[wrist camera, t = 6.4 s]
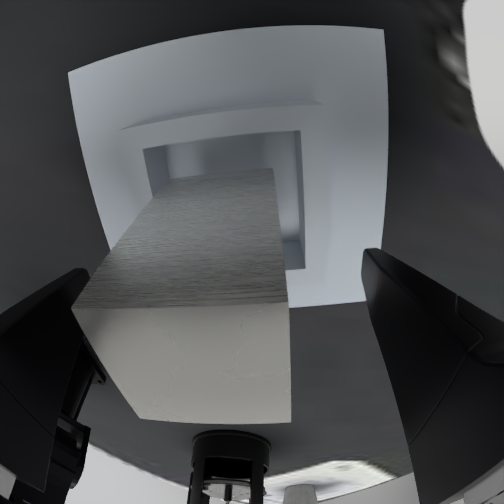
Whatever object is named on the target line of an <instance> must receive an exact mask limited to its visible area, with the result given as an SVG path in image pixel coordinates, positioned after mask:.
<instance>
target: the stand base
mask: <svg viewBox="0 0 504 504" xmlns="http://www.w3.org/2000/svg"><path fill="white" fill-rule="evenodd" d="M68 77H69V84H70V91H71V97H72V103H73V109H74V114H75V120H76V125H77V130H78V135H79V139H80V144H81V148H82V153H83V157H84V161H85V165H86V169H87V173H88V177H89V181H90V185H91V188H92V192H93V196H94V199H95V203H96V206H97V209H98V213H99V216H100V219H101V222H102V226H103V229H104V232H105V235H106V238H107V241H108V244H109V247H110V250H112V248H113V247H114V246H115V244H116V243H117V242H118V240H119V239H120V238H121V236H122V235H123V234H124V232H125V231H126V230H127V229H128V227H129V226H130V225H131V223H132V222H133V221H134V220H135V218H136V217H137V216H138V215H139V213H140V212H141V211H142V210H143V209H144V207H145V206H146V205H147V204H148V202H149V201H150V200H151V199H152V198H153V196H154V195H155V194H156V193H157V192H158V190H159V189H160V188H161V187H162V186H163V185H164V183H165V182H166V181H167V180H168V179H172V178H179V177H187V176H194V175H203V174H211V173H221V172H230V171H241V170H252V169H263V168H273V171H274V179H275V187H276V195H277V203H278V211H279V219H280V228H281V237H282V245H283V254H284V263H285V273H286V282H287V292H288V302H289V308H292V307H305V306H317V305H328V304H339V303H350V302H359V301H366V296H365V292H364V288H363V284H362V279H361V267H362V257H363V251H364V249H366V248H379V249H380V250H381V241H382V232H383V222H384V212H385V199H386V184H387V165H388V84H387V66H386V52H385V41H384V31H383V30H382V29H373V28H362V27H348V26H324V25H295V26H271V27H257V28H246V29H237V30H229V31H221V32H214V33H208V34H202V35H196V36H190V37H185V38H180V39H175V40H171V41H166V42H162V43H158V44H154V45H150V46H146V47H142V48H139V49H135V50H131V51H128V52H125V53H121V54H118V55H115V56H112V57H109V58H106V59H103V60H100V61H97V62H94V63H91V64H89V65H86V66H83V67H81V68H78V69H76V70H73V71H71V72H68Z"/></svg>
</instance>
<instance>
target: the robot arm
mask: <svg viewBox="0 0 504 504" xmlns="http://www.w3.org/2000/svg"><path fill="white" fill-rule="evenodd" d="M90 279H91V278H90V276H89V273H88V271H87V270H86V269H85V268H76V269H73V270H72V271H70V272H68V273H66V274H65V275H63V276H61V277H60V278H58V279H56V280H54V281H53V282H51V283H49V284H48V285H46V286H44V287H43V288H41V289H40V290H38V291H36V292H35V293H33V294H31V295H30V296H28V297H27V298H25V299H23V300H22V301H20V302H19V303H17V304H15V305H14V306H12V307H11V308H9V309H8V310H6V311H5V312H3V313H2V314H1V315H0V504H64V503H65V499H66V496H67V493H68V491H69V488H70V489H73V488H74V487H75V486H76V484H77V483H78V481H79V479H80V477H81V475H82V472H83V469H84V464H85V458H86V452H87V447H88V441H89V436H90V431H91V428H89V427H88V426H86V425H85V426H84V425H82V424H81V423H79V422H77V421H76V420H77V418H78V415H79V413H80V410H81V407H82V405H83V402H84V400H85V397H86V395H87V393H88V390H89V388H90V385H91V383H93V384H100V385H104V384H105V381H106V379H105V378H104V376H103V375H102V373H101V372H100V370H99V369H98V367H97V366H96V364H95V362H94V361H93V359H92V358H91V356H90V355H89V353H88V351H87V350H86V348H85V346H84V345H83V343H82V338H83V335H84V332H83V330H82V328H81V327H80V325H79V323H78V321H77V319H76V317H75V315H74V313H73V312H72V310H71V307H72V305H73V304H74V302H75V301H76V299H77V298H78V296H79V295H80V293H81V292H82V290H83V289H84V287H85V286H86V285H87V283H88V282H89V280H90ZM361 279H362V284H363V288H364V292H365V296H366V301H367V305H368V310H369V314H370V318H371V322H372V325H373V328H374V331H375V334H376V337H377V340H378V343H379V346H380V349H381V352H382V355H383V359H384V362H385V365H386V368H387V371H388V375H389V378H390V381H391V385H392V388H393V391H394V395H395V398H396V402H397V406H398V409H399V413H400V417H401V420H402V424H403V428H404V432H405V436H406V440H407V444H408V446H409V447H408V449H409V453H410V458H411V462H412V467H413V471H414V476H415V481H416V486H417V491H418V496H419V502H420V504H450V503H452V502H454V501H457V500H460V499H462V498H463V499H464V503H465V504H504V322H503V321H501V320H500V319H498V318H496V317H494V316H492V315H491V314H489V313H487V312H485V311H483V310H482V309H480V308H478V307H477V306H475V305H473V304H472V303H470V302H468V301H467V300H465V299H464V298H462V297H461V296H457V294H456V293H454V292H452V291H451V290H449V289H447V288H446V287H444V286H442V285H441V284H439V283H438V282H436V281H434V280H433V279H431V278H429V277H427V276H426V275H424V274H422V273H421V272H419V271H417V270H416V269H414V268H412V267H410V266H409V265H407V264H405V263H403V262H402V261H400V260H398V259H396V258H395V257H393V256H391V255H389V254H388V253H386V252H384V251H382V250H380V249H379V248H366V249H364V251H363V257H362V267H361Z"/></svg>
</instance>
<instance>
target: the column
mask: <svg viewBox="0 0 504 504" xmlns="http://www.w3.org/2000/svg"><path fill="white" fill-rule="evenodd" d="M71 310H72V312H73V313H74V315H75V317H76V319H77V321H78V323H79V325H80V327H81V328H82V330H83V332H84V334H85V335H86V337H87V339H88V341H89V342H90V344H91V346H92V348H93V349H94V351H95V353H96V354H97V356H98V358H99V359H100V361H101V362H102V364H103V366H104V367H105V369H106V370H107V372H108V373H109V375H110V376H111V378H112V380H113V381H114V383H115V384H116V386H117V387H118V388H119V390H120V391H121V393H122V394H123V396H124V397H125V399H126V400H127V401H128V403H129V404H130V406H131V407H132V408H133V410H134V411H135V412H136V414H137V415H138V416H139V418H142V419H150V420H160V421H172V422H186V423H206V424H266V423H286V422H291V372H290V331H289V302H288V292H287V282H286V273H285V263H284V254H283V245H282V237H281V228H280V219H279V211H278V203H277V195H276V187H275V179H274V171H273V168H263V169H252V170H241V171H230V172H221V173H211V174H203V175H194V176H187V177H179V178H172V179H168V180H167V181H166V182H165V183H164V185H163V186H162V187H161V188H160V189H159V190H158V192H157V193H156V194H155V195H154V196H153V198H152V199H151V200H150V201H149V202H148V204H147V205H146V206H145V207H144V209H143V210H142V211H141V212H140V213H139V215H138V216H137V217H136V218H135V220H134V221H133V222H132V223H131V225H130V226H129V227H128V229H127V230H126V231H125V232H124V234H123V235H122V236H121V238H120V239H119V240H118V242H117V243H116V244H115V246H114V247H113V248H112V250H111V251H110V252H109V254H108V255H107V256H106V258H105V259H104V260H103V262H102V263H101V265H100V266H99V267H98V269H97V270H96V272H95V273H94V274H93V276H92V277H91V279H90V280H89V282H88V283H87V285H86V286H85V287H84V289H83V290H82V292H81V293H80V295H79V296H78V298H77V299H76V301H75V302H74V304H73V305H72V307H71Z"/></svg>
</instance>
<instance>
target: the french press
mask: <svg viewBox="0 0 504 504" xmlns="http://www.w3.org/2000/svg"><path fill="white" fill-rule="evenodd" d="M192 444H193V454H192V461H191V466H192V467H193V468H194V472H192V473H191V477H190V484H189V492H188V500H187V504H209V499H210V497H215V498H221V499H224V501H226V504H229V502H230V501H231V500H232V499H234V500H244V499H249V504H263V496H264V495H266V494H267V493H266V491H265V488H264V486H263V484H264V475H265V474H267V473H268V472H269V453H270V451H271V444H270V443H269V441H267V440H266V439H265V438H263V437H261V436H258V435H255V434H251V433H248V432H242V431H233V430H214V431H207V432H203V433H200V434H198V435H196V436H195V437H194V439H193V441H192ZM212 476H213V477H217V478H212ZM221 478H224V479H221ZM235 479H250V482H249V481H243V480H235Z"/></svg>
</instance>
